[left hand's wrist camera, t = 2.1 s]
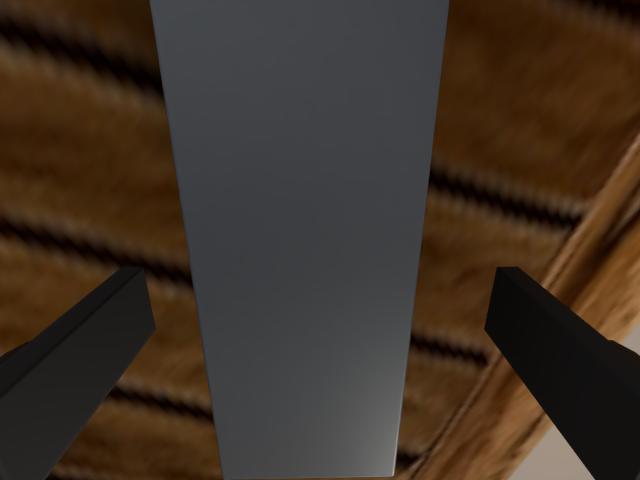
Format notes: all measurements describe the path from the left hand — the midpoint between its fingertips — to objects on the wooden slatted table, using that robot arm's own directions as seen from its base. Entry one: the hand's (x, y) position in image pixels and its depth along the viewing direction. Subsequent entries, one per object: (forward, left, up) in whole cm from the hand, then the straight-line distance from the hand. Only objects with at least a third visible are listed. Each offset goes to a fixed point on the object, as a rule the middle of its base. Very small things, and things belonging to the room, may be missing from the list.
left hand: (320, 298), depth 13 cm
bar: (-3, +9, -4) cm, 10 cm away
